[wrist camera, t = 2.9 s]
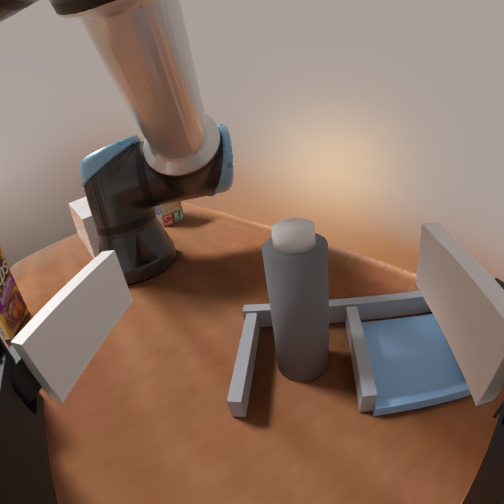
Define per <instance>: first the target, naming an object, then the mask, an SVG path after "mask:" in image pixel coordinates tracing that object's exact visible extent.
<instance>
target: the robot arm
mask: <svg viewBox="0 0 504 504" xmlns="http://www.w3.org/2000/svg"><path fill="white" fill-rule="evenodd" d="M36 1H38V0H0V22H1V21H3V20H5V19H7V18H9V17H10V16H13V15H15V14H16V13H18V12H19V11H21V10H22V9H24V8H26V7H28V6H29V5H31V4H33V3H35V2H36ZM49 1H50V2H51V4H52V6H53V7H54V9H55V11H56V13H57V15H58V16H60V17H64V18H77V19H81V20H82V22H83V24H84V26H85V28H86V30H87V32H88V34H89V36H90V38H91V40H92V42H93V44H94V46H95V48H96V49H97V51H98V53H99V55H100V57H101V59H102V61H103V63H104V64H105V66H106V68H107V70H108V72H109V74H110V76H111V77H112V79H113V81H114V83H115V85H116V87H117V89H118V90H119V92H120V94H121V96H122V98H123V99H124V101H125V103H126V105H127V107H128V108H129V110H130V112H131V114H132V116H133V117H134V119H135V121H136V123H137V124H138V126H139V128H140V129H141V131H142V133H143V135H144V137H145V141H142V142H140V138H139V137H138V136H137V135H134V136H130V137H127V138H125V139H122V140H120V141H118V142H115V143H112V144H110V145H108V146H106V147H103V148H101V149H99V150H97V151H95V152H93V153H92V154H90V155H88V156H86V157H85V158H84V159H83V160H82V161H81V163H80V173H81V179H82V187H84V191H85V194H86V198H87V202H88V205H89V208H90V211H91V215H92V218H93V221H94V224H95V227H96V230H97V233H98V236H99V249H100V254H99V255H98V256H97V257H96V258H94V259H93V260H92V261H91V262H90V263H89V264H88V265H87V266H86V267H84V268H83V269H82V270H81V271H80V272H79V273H78V274H77V275H76V276H75V277H74V278H73V279H72V280H70V281H69V282H68V283H67V284H66V285H65V286H64V287H63V288H62V289H61V290H60V291H59V292H58V293H57V294H56V295H55V296H54V297H53V298H52V299H51V300H50V301H49V302H48V303H47V304H46V305H45V306H44V307H43V308H42V309H41V310H40V311H39V312H38V313H37V314H36V315H35V316H34V317H33V318H32V319H31V320H30V321H29V322H28V323H27V324H26V326H25V327H24V328H23V329H22V330H21V331H20V332H19V333H18V334H17V335H16V336H15V338H14V339H13V340H12V341H11V344H12V345H11V346H10V347H9V348H7V347H6V345H5V344H4V342H3V341H2V339H1V337H0V504H58V503H57V499H56V495H55V490H54V486H53V481H52V475H51V470H50V464H49V457H48V450H47V442H46V432H45V421H44V405H43V397H42V396H41V394H40V393H39V391H40V389H41V388H43V389H44V391H45V392H46V393H47V394H48V396H49V397H50V398H51V399H54V400H57V401H60V402H64V401H65V399H66V398H67V396H68V394H69V393H70V391H71V390H72V388H73V387H74V385H75V384H76V382H77V380H78V379H79V377H80V376H81V374H82V373H83V371H84V370H85V368H86V367H87V365H88V364H89V362H90V361H91V359H92V358H93V356H94V355H95V353H96V352H97V351H98V349H99V348H100V346H101V345H102V343H103V342H104V340H105V339H106V338H107V336H108V335H109V333H110V332H111V331H112V329H113V328H114V326H115V325H116V323H117V322H118V321H119V319H120V318H121V317H122V315H123V314H124V312H125V311H126V310H127V308H128V307H129V306H130V304H131V303H132V302H133V298H132V296H131V293H130V291H129V288H128V286H127V284H133V283H137V282H140V281H143V280H146V279H149V278H151V277H153V276H155V275H157V274H159V273H161V272H162V271H164V270H165V269H167V268H168V267H169V266H170V265H171V264H172V263H173V262H174V261H175V259H176V256H177V254H176V250H175V246H174V243H173V241H172V240H171V238H170V237H169V235H168V234H167V232H166V231H165V229H164V228H163V226H162V225H161V223H160V222H159V220H158V218H157V215H156V211H155V206H160V205H164V204H168V203H173V202H178V201H183V200H188V199H193V198H198V197H203V196H213V195H215V194H217V193H222V192H225V191H227V190H229V189H230V188H231V186H232V183H233V165H232V163H233V155H232V146H231V141H230V135H229V131H228V129H227V127H226V126H224V125H223V124H216V123H215V121H214V120H213V119H212V118H211V117H209V116H208V115H206V114H205V113H204V109H203V104H202V100H201V96H200V91H199V87H198V82H197V78H196V74H195V70H194V65H193V60H192V56H191V51H190V47H189V42H188V38H187V33H186V29H185V24H184V19H183V15H182V10H181V5H180V0H49ZM415 284H416V285H417V287H418V289H419V290H420V292H421V294H422V296H423V297H424V299H425V301H426V303H427V304H428V306H429V308H430V310H431V312H432V313H433V315H434V317H435V319H436V321H437V323H438V325H439V326H440V328H441V330H442V332H443V334H444V336H445V338H446V340H447V342H448V344H449V346H450V348H451V350H452V352H453V354H454V356H455V359H456V361H457V363H458V365H459V367H460V369H461V372H462V374H463V376H464V378H465V381H466V383H467V385H468V388H469V390H470V393H471V395H472V397H473V400H474V402H475V405H476V406H479V405H481V404H484V403H487V402H490V401H493V400H495V399H496V398H497V396H498V395H499V393H500V392H501V390H502V388H503V387H504V282H502V281H501V280H499V279H497V278H495V279H494V278H493V277H492V276H491V275H490V274H489V273H488V272H487V271H486V269H485V268H484V267H483V266H482V265H481V264H480V263H479V262H478V261H477V260H476V259H475V258H474V257H473V256H472V255H471V254H470V253H469V252H468V251H467V250H466V249H465V248H464V247H463V246H462V245H461V244H460V243H459V242H458V241H457V240H456V239H455V238H454V237H453V236H452V235H451V234H450V233H449V232H447V231H446V230H445V229H444V228H443V227H442V226H441V225H440V224H439V223H425V224H422V230H421V242H420V252H419V261H418V269H417V276H416V283H415ZM499 413H500V415H499V418H498V422H497V425H496V428H495V431H494V433H493V436H492V439H491V442H490V444H489V447H488V450H487V452H486V455H485V457H484V459H483V462H482V464H481V466H480V469H479V471H478V473H477V475H476V477H475V480H474V482H473V484H472V486H471V488H470V490H469V492H468V494H467V496H466V497H465V499H464V501H463V503H462V504H504V401H503V402H502V404H501V405H500V407H499V408H498V410H497V411H496V412H495V414H494V416H493V418H496V417H497V416H498V414H499Z"/></svg>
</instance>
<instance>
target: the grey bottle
mask: <svg viewBox="0 0 504 504" xmlns="http://www.w3.org/2000/svg"><path fill="white" fill-rule="evenodd" d="M271 232H272V238H270V239H268V240H267V241H266V242H265V243H264V244H263V245H262V255H263V262H264V269H265V276H266V283H267V290H268V297H269V304H270V311H271V318H272V325H273V332H274V339H275V346H276V353H277V361H278V367H279V370H280V372H281V373H282V375H283V376H285V377H286V378H288V379H290V380H293V381H299V382H304V381H310V380H313V379H315V378H317V377H319V376H320V375H322V374H323V373H324V371H325V370H326V368H327V366H328V344H329V272H328V243H327V240H326V239H325V238H324V237H322V236H321V235H319V234H316V233H315V225H314V223H313V222H312V221H310V220H307V219H287V220H283V221H280V222H277V223H275V224H274V225H273V226H272V227H271Z"/></svg>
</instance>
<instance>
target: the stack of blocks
mask: <svg viewBox="0 0 504 504" xmlns="http://www.w3.org/2000/svg"><path fill="white" fill-rule="evenodd" d="M155 211H156V215H157V218H158V220H159V222H160V223H161V225H162V226H163V227H167V226H169V225H171V224H173V223H176V222H178V221H180V220H182V219H184V214H183V210H182V206H181V201H178V202H173V203H168V204H164V205H160V206H155Z"/></svg>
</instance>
